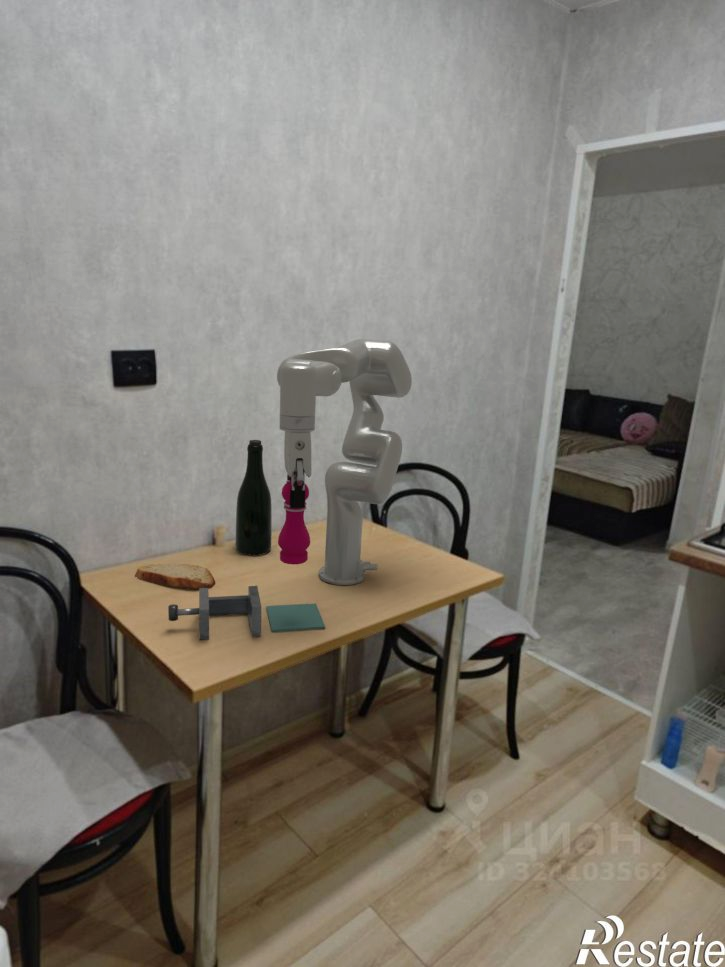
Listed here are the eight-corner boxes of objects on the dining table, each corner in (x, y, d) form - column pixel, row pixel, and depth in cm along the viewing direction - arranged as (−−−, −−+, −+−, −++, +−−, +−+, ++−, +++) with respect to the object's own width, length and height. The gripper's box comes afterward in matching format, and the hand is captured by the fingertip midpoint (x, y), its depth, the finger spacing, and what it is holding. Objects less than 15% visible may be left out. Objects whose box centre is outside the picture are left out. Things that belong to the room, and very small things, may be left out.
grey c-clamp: (256, 610, 152) (256, 583, 150) (260, 636, 140) (261, 606, 138) (170, 615, 147) (169, 586, 145) (167, 641, 135) (167, 611, 134)
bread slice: (132, 573, 170) (131, 560, 169) (200, 564, 178) (200, 551, 177) (146, 600, 154) (145, 586, 154) (219, 589, 163) (219, 575, 162)
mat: (315, 605, 156) (316, 603, 156) (325, 628, 145) (325, 626, 145) (266, 608, 153) (266, 605, 153) (271, 632, 142) (271, 629, 142)
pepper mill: (278, 566, 142) (280, 478, 136) (276, 553, 148) (278, 469, 143) (311, 565, 143) (314, 478, 138) (307, 553, 150) (310, 470, 144)
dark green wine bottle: (245, 558, 183) (246, 445, 175) (229, 547, 191) (230, 438, 183) (277, 552, 189) (280, 442, 181) (261, 541, 197) (263, 435, 189)
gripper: (321, 430, 130) (318, 515, 135) (308, 415, 146) (306, 491, 151) (284, 430, 128) (282, 515, 133) (275, 415, 145) (274, 492, 149)
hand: (295, 502), depth 142 cm, fingers closed on pepper mill, 6 cm apart
